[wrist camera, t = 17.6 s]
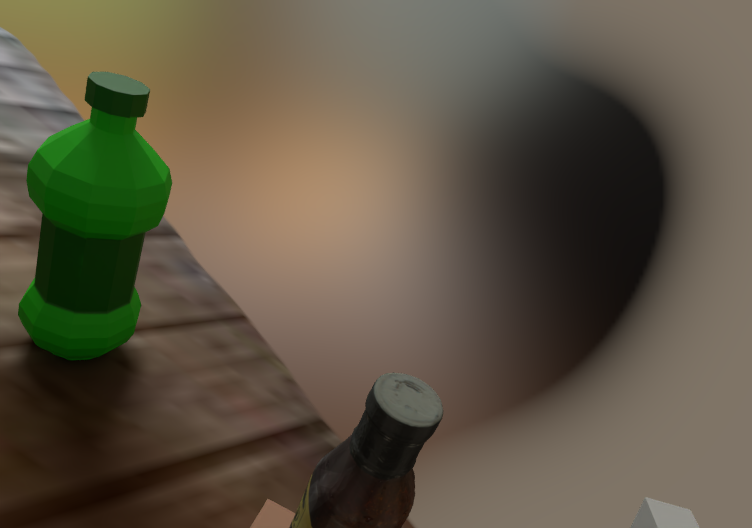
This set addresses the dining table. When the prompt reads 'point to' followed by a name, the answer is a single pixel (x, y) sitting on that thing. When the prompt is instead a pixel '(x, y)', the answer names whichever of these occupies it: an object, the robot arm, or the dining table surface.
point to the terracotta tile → (273, 516)
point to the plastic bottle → (93, 223)
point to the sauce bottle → (374, 460)
